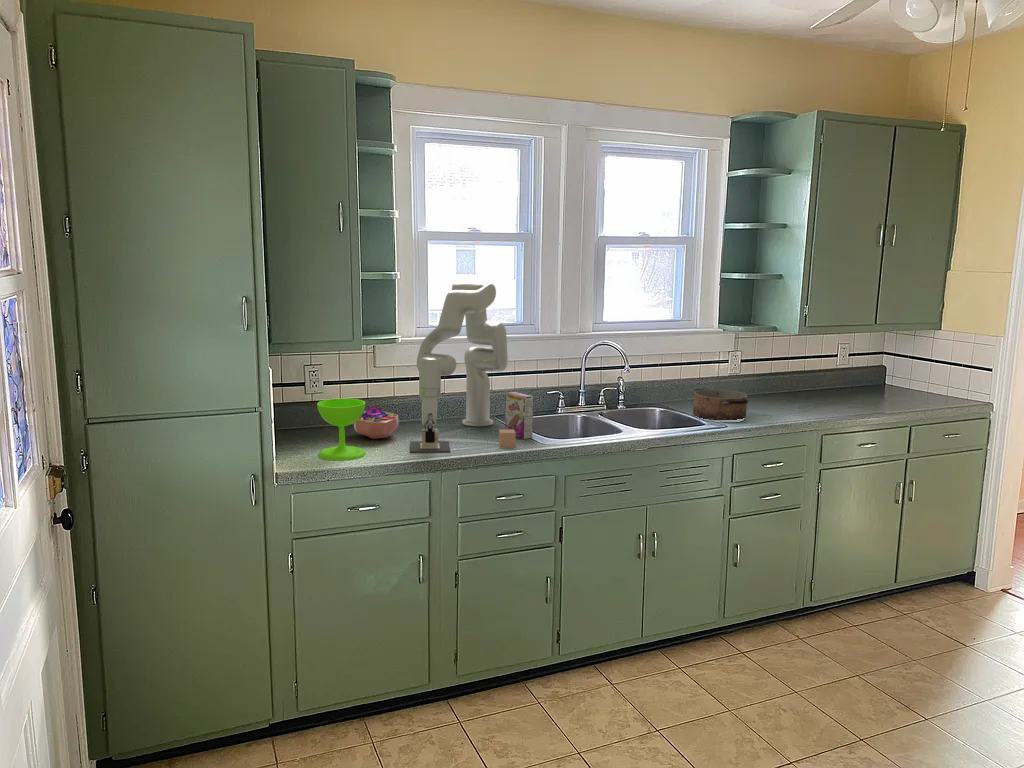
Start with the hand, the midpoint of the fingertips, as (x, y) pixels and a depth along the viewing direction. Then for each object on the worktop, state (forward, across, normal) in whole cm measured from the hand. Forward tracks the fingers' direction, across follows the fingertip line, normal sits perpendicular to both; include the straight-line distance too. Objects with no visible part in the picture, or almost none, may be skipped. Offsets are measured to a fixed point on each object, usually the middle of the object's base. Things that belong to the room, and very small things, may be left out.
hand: (429, 439), depth 277 cm
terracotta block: (+3, -2, +28) cm, 28 cm away
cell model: (+3, -16, -20) cm, 26 cm away
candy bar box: (+3, -16, +34) cm, 38 cm away
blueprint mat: (+3, 0, 0) cm, 3 cm away
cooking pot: (+4, -47, +126) cm, 135 cm away
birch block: (+2, 0, 0) cm, 2 cm away
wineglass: (+3, +8, -30) cm, 31 cm away
